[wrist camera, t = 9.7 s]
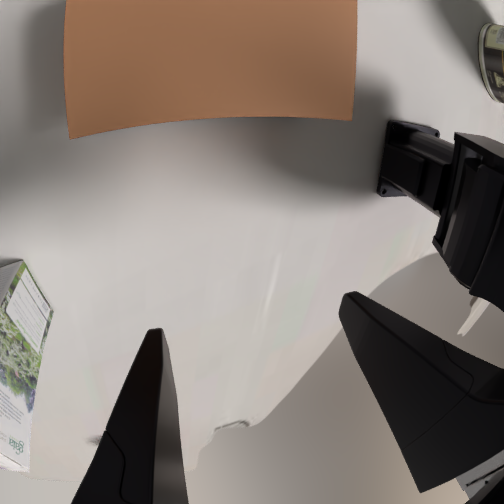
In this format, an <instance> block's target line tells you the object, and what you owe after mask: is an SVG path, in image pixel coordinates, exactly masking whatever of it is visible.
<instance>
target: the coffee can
mask: <svg viewBox="0 0 504 504" xmlns="http://www.w3.org/2000/svg"><path fill="white" fill-rule="evenodd" d="M478 47H479V62H480V68H481V73H482V77H483V81H484V83H485V86H486V88H487V90H488V92H489V94H490V96H491V97H492V98H493V99H494V100H495V101H497V102H501V103H504V26H502V25H495V24H491V23H487V24H485V25H484V26H483V27H482V29H481V32H480V36H479V44H478Z"/></svg>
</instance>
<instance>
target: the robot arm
mask: <svg viewBox="0 0 504 504" xmlns="http://www.w3.org/2000/svg"><path fill="white" fill-rule="evenodd" d="M393 125H394V128H393ZM439 137H440V133H439V131H438V130H436V129H433V128H429V127H425V126H420V125H415V124H410V123H405V122H400V121H394V120H390V121H389V122H388V124H387V131H386V138H385V145H384V152H383V158H382V164H381V170H380V176H379V181H378V186H377V194H378V195H380V196H381V197H397V196H408V197H410V198H412V199H413V200H415V201H416V202H418V203H419V204H421V205H422V206H424V207H425V208H427V209H428V210H429V211H431V212H432V213H434V214H435V215H437V216H438V217H439V218H440V220H439V223H438V227H437V231H436V234H435V236H434V237H433V241H432V243H433V245H434V246H435V248H436V249H437V251H438V252H439V254H440V255H441V257H442V258H443V259H444V261H445V263H446V264H447V266H448V268H449V271H450V272H451V274H452V275H453V276H454V277H455V278H456V280H457V281H458V282H459V283H460V284H461V285H463V286H464V287H466V288H467V289H469V294H470V295H473V296H476V297H480V298H483V299H485V300H487V301H489V302H491V303H492V304H494V305H495V306H497V307H498V308H499V309H501V310H502V311H503V312H504V144H502V143H500V142H498V141H495V140H493V139H490V138H488V137H485V136H480V135H473V134H466V133H458V132H455V134H454V140H455V143H454V144H452V143H450V142H447V141H445V140H442V139H440V138H439ZM382 190H383V191H382ZM339 318H340V321H341V323H342V326H343V328H344V331H345V333H346V336H347V338H348V341H349V344H350V346H351V349H352V351H353V354H354V356H355V358H356V360H357V362H358V364H359V366H360V368H361V370H362V372H363V374H364V376H365V377H366V379H367V381H368V383H369V385H370V387H371V389H372V391H373V393H374V395H375V397H376V399H377V401H378V403H379V405H380V407H381V409H382V412H383V414H384V416H385V417H386V420H387V422H388V424H389V426H390V428H391V430H392V432H393V435H394V437H395V439H396V441H397V443H398V445H399V447H400V449H401V452H402V454H403V456H404V459H405V461H406V463H407V465H408V468H409V470H410V472H411V474H412V477H413V479H414V481H415V483H416V485H417V488H418V490H419V492H420V493H422V492H425V491H427V490H430V489H432V488H434V487H437V486H439V485H441V484H443V483H445V482H448V481H450V480H452V479H454V478H456V479H457V481H458V483H459V485H460V486H461V488H462V490H463V491H464V490H465V492H466V493H467V495H468V497H469V499H470V500H468V501H467V502H466V503H465V504H504V369H502V368H499V367H497V366H495V365H493V364H490V363H488V362H486V361H484V360H482V359H479V358H477V357H475V356H473V355H471V354H469V353H467V352H465V351H463V350H461V349H459V348H457V347H456V346H454V345H452V344H450V343H448V342H447V341H445V340H442V339H441V338H439V337H438V336H436V335H434V334H432V333H431V332H429V331H427V330H425V329H424V328H422V327H420V326H418V325H417V324H415V323H413V322H411V321H409V320H407V319H406V318H404V317H402V316H400V315H399V314H397V313H395V312H393V311H391V310H390V309H388V308H386V307H384V306H382V305H381V304H379V303H377V302H375V301H373V300H372V299H369V298H368V297H366V296H364V295H362V294H361V293H359V292H357V291H353V292H349V293H345V294H344V296H343V298H342V302H341V305H340V309H339ZM106 430H107V431H106ZM106 430H105V431H104V433H103V436H102V438H101V441H100V443H99V446H98V448H97V451H96V453H95V456H94V458H93V460H92V462H91V464H90V466H89V468H88V470H87V473H86V475H85V476H84V478H83V480H82V482H81V484H80V486H79V488H78V490H77V492H76V494H75V496H74V498H73V500H72V503H71V504H189V503H188V496H187V490H186V482H185V475H184V467H183V458H182V449H181V439H180V428H179V416H178V403H177V394H176V388H175V383H174V377H173V372H172V366H171V360H170V353H169V348H168V344H167V341H166V338H165V335H164V331H163V329H162V328H155V329H149V330H148V331H147V333H146V335H145V337H144V340H143V342H142V344H141V346H140V348H139V350H138V353H137V355H136V357H135V359H134V361H133V364H132V366H131V368H130V370H129V373H128V375H127V377H126V380H125V382H124V384H123V387H122V389H121V391H120V394H119V396H118V398H117V401H116V403H115V406H114V408H113V411H112V413H111V416H110V418H109V421H108V423H107V426H106Z"/></svg>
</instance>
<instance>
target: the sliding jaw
mask: <svg viewBox="0 0 504 504" xmlns="http://www.w3.org/2000/svg"><path fill="white" fill-rule="evenodd" d="M356 54H357V0H66V9H65V22H64V87H65V102H66V113H67V122H68V131H69V138H70V139H75V138H79V137H83V136H88V135H92V134H97V133H102V132H107V131H112V130H118V129H123V128H129V127H135V126H142V125H149V124H156V123H165V122H173V121H183V120H194V119H208V118H225V117H305V118H323V119H336V120H347V121H352V114H353V103H354V90H355V74H356Z"/></svg>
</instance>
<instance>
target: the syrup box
mask: <svg viewBox="0 0 504 504" xmlns="http://www.w3.org/2000/svg"><path fill="white" fill-rule="evenodd" d="M52 316H53V310H52V308H51V307H50V305H49V303H48V302H47V301H46V299H45V297H44V296H43V294H42V292H41V291H40V289H39V287H38V286H37V284H36V282H35V281H34V279H33V277H32V275H31V273H30V271H29V270H28V268H27V266H26V264H25V262H24V261H19V262H15V263H12V264H9V265H6V266H3V267H1V268H0V468H1V469H5V470H11V471H25V472H29V466H30V464H29V461H30V437H31V425H32V414H33V406H34V399H35V392H36V385H37V380H38V375H39V370H40V364H41V359H42V355H43V350H44V346H45V342H46V338H47V334H48V330H49V326H50V323H51V319H52Z"/></svg>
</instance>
